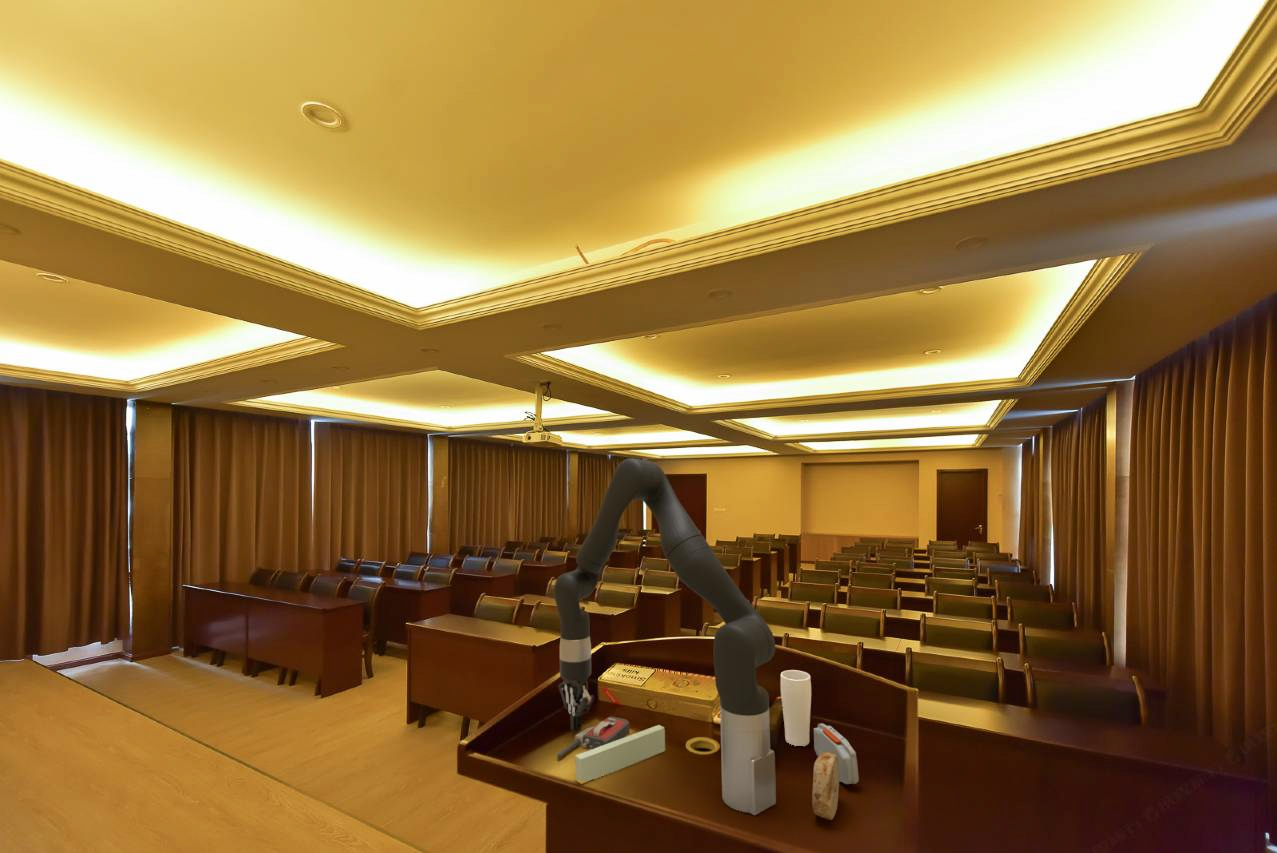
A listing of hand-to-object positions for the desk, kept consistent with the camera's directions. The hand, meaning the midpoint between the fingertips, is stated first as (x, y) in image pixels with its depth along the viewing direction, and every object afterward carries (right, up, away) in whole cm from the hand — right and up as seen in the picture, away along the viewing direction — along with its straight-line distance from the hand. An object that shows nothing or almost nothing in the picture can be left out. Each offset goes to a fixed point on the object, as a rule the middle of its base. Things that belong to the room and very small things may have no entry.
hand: (576, 729), depth 138 cm
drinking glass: (+51, 0, -6) cm, 51 cm away
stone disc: (+49, +2, -33) cm, 59 cm away
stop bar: (+11, 0, -15) cm, 19 cm away
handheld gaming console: (+55, +1, -19) cm, 58 cm away
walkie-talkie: (+5, -1, -5) cm, 8 cm away
